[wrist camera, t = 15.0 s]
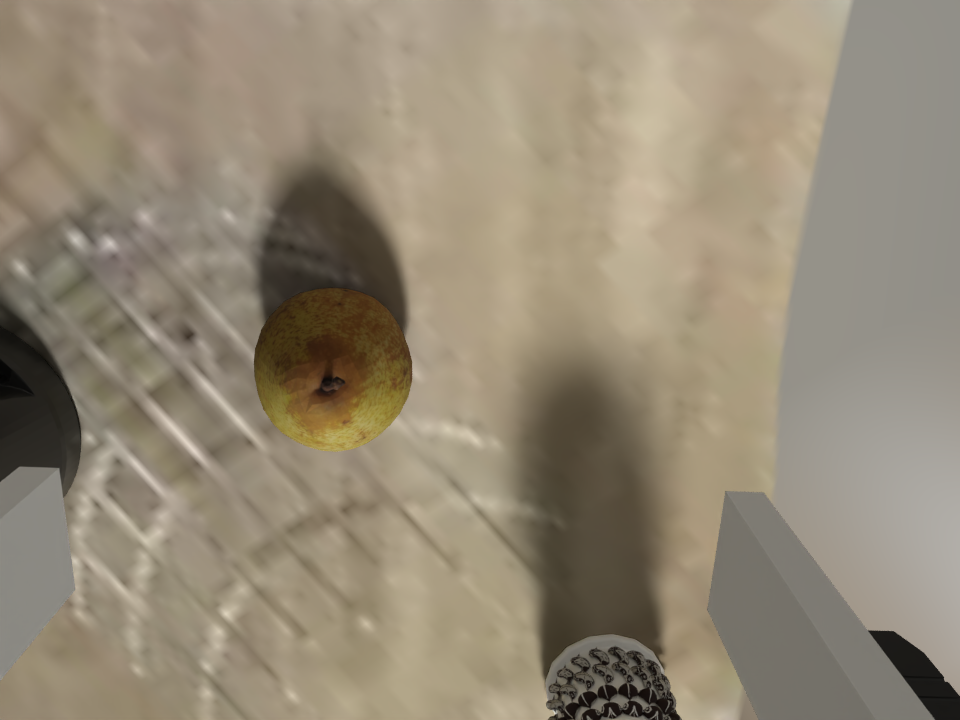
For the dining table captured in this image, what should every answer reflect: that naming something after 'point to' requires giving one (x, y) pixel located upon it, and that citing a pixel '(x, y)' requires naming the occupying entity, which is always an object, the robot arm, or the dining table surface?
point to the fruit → (332, 368)
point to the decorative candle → (609, 682)
